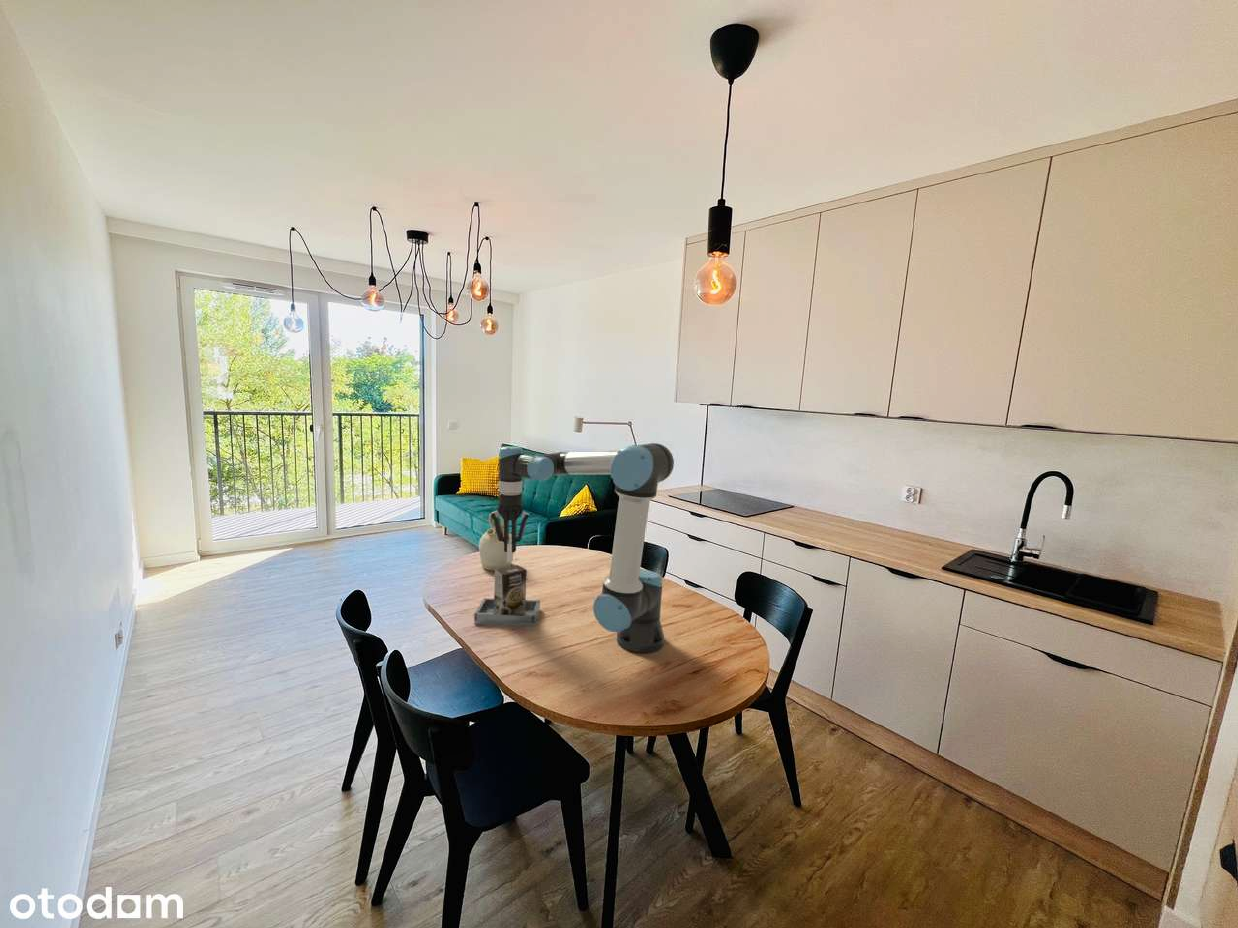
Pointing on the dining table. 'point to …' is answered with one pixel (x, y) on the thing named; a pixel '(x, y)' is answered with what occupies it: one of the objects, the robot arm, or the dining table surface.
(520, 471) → the robot arm
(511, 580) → the coffee box
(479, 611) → the grey shallow tray
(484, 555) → the jug
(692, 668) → the dining table surface
